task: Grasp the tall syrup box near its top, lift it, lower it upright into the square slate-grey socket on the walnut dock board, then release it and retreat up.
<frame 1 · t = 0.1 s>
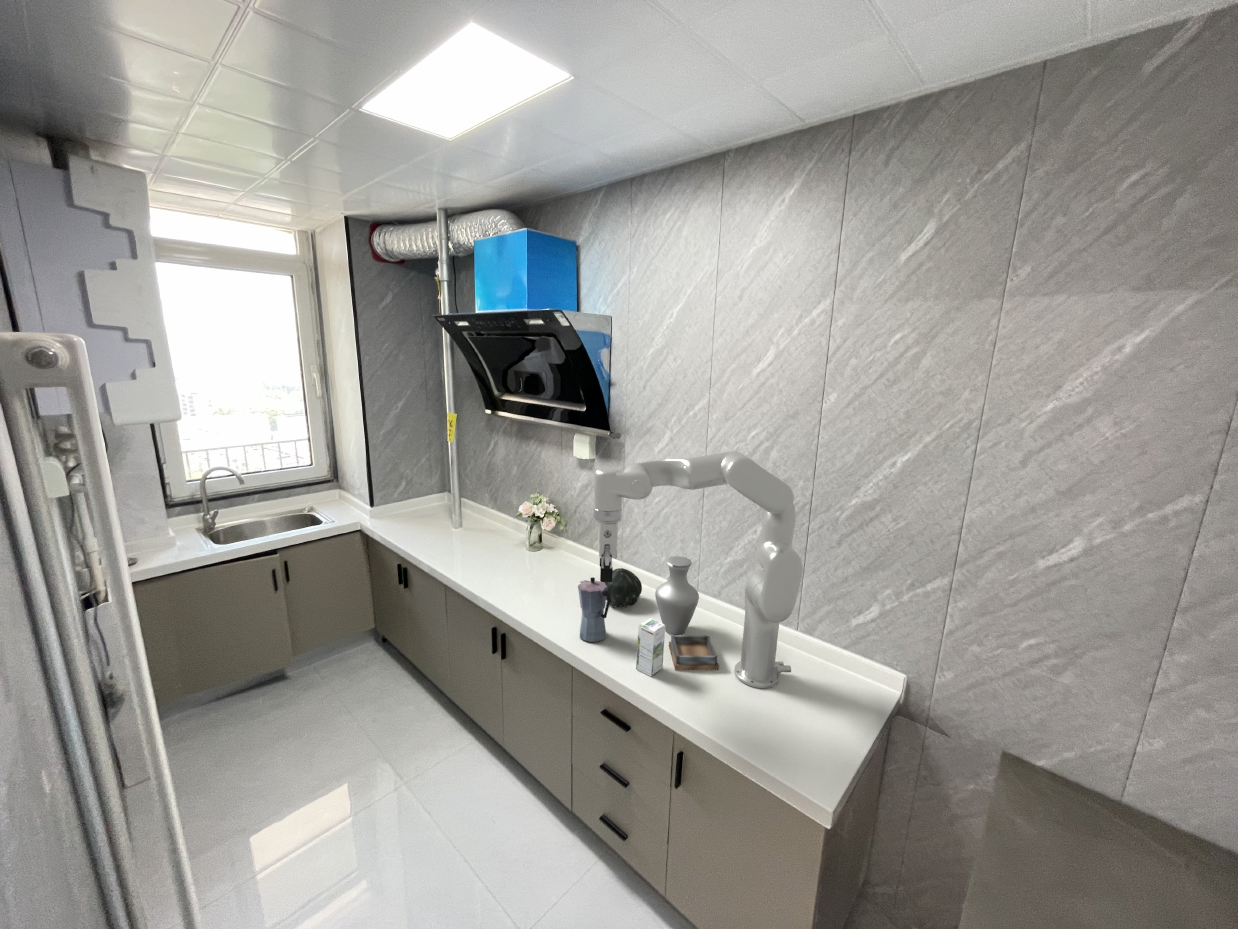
hand: (605, 573, 140), 31 cm above the table, fingers open, 9 cm apart
syrup box: (649, 669, 150), on the table
squash: (621, 603, 191), on the table
moka pot: (594, 636, 167), on the table
vase: (674, 631, 173), on the table
dock: (692, 657, 157), on the table
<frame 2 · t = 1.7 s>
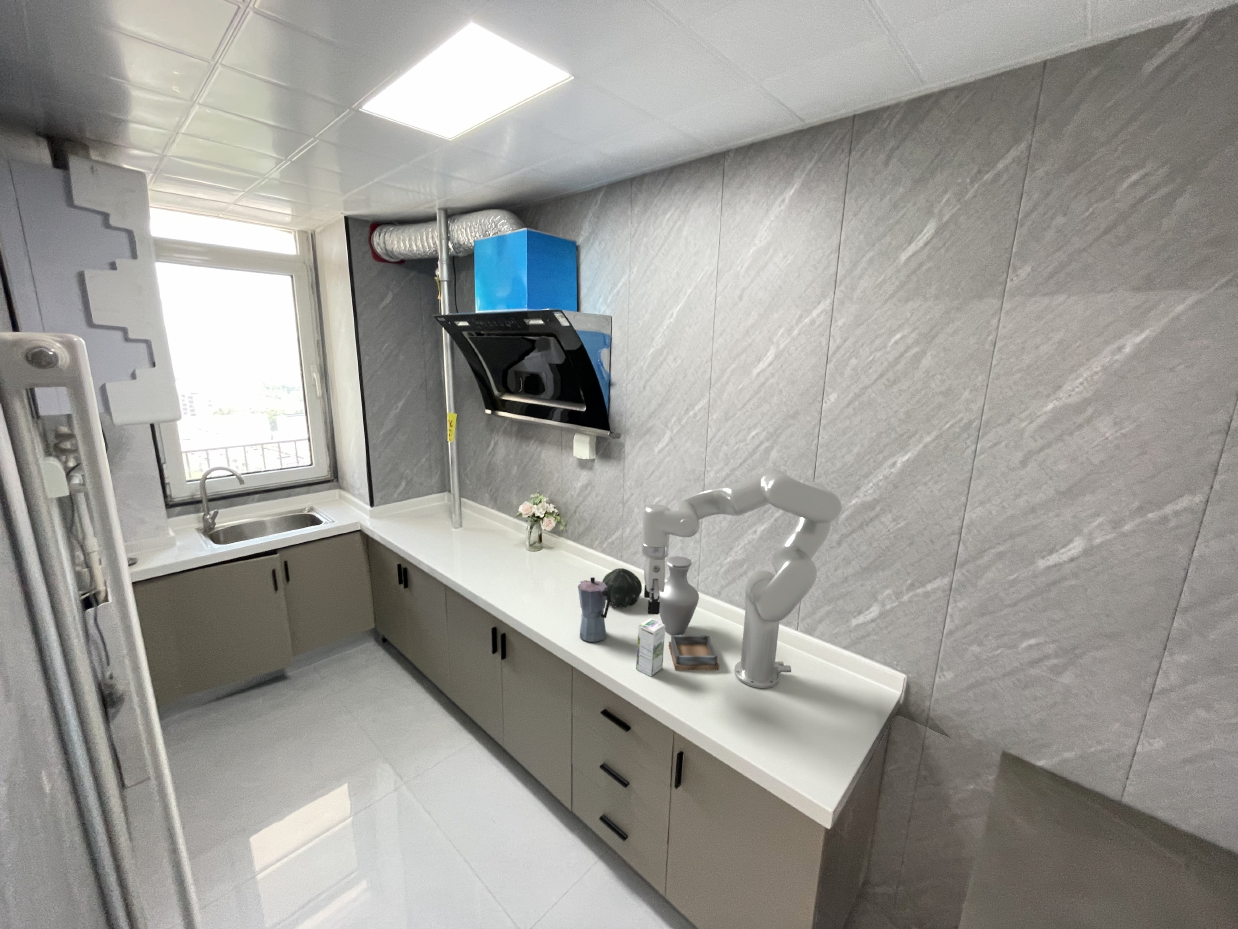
hand: (651, 605, 146), 20 cm above the table, fingers open, 9 cm apart
nothing on the table moved.
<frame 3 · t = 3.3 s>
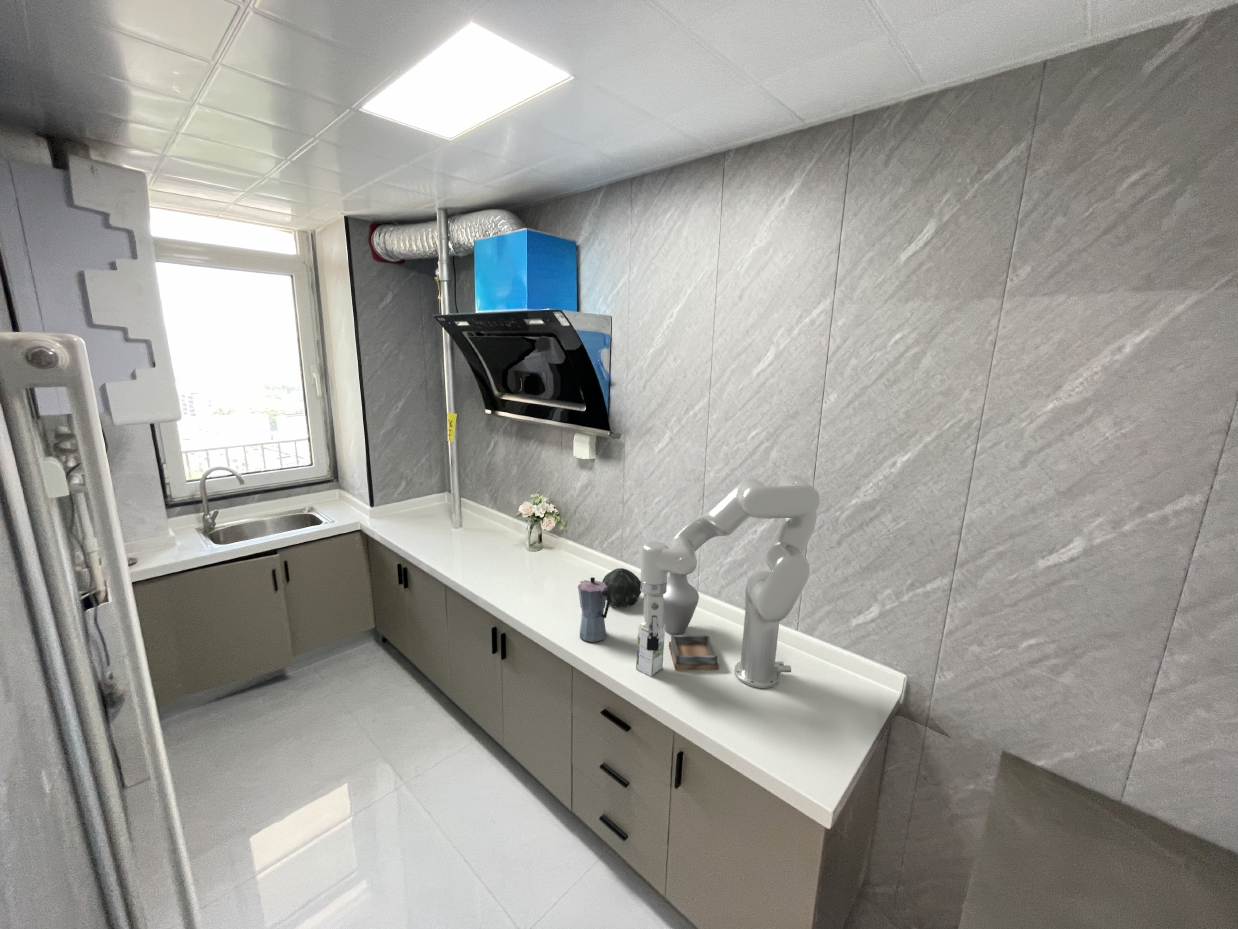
hand: (650, 641, 149), 9 cm above the table, fingers closed on syrup box, 7 cm apart
syrup box: (649, 669, 150), on the table, touching gripper
everything else where it was.
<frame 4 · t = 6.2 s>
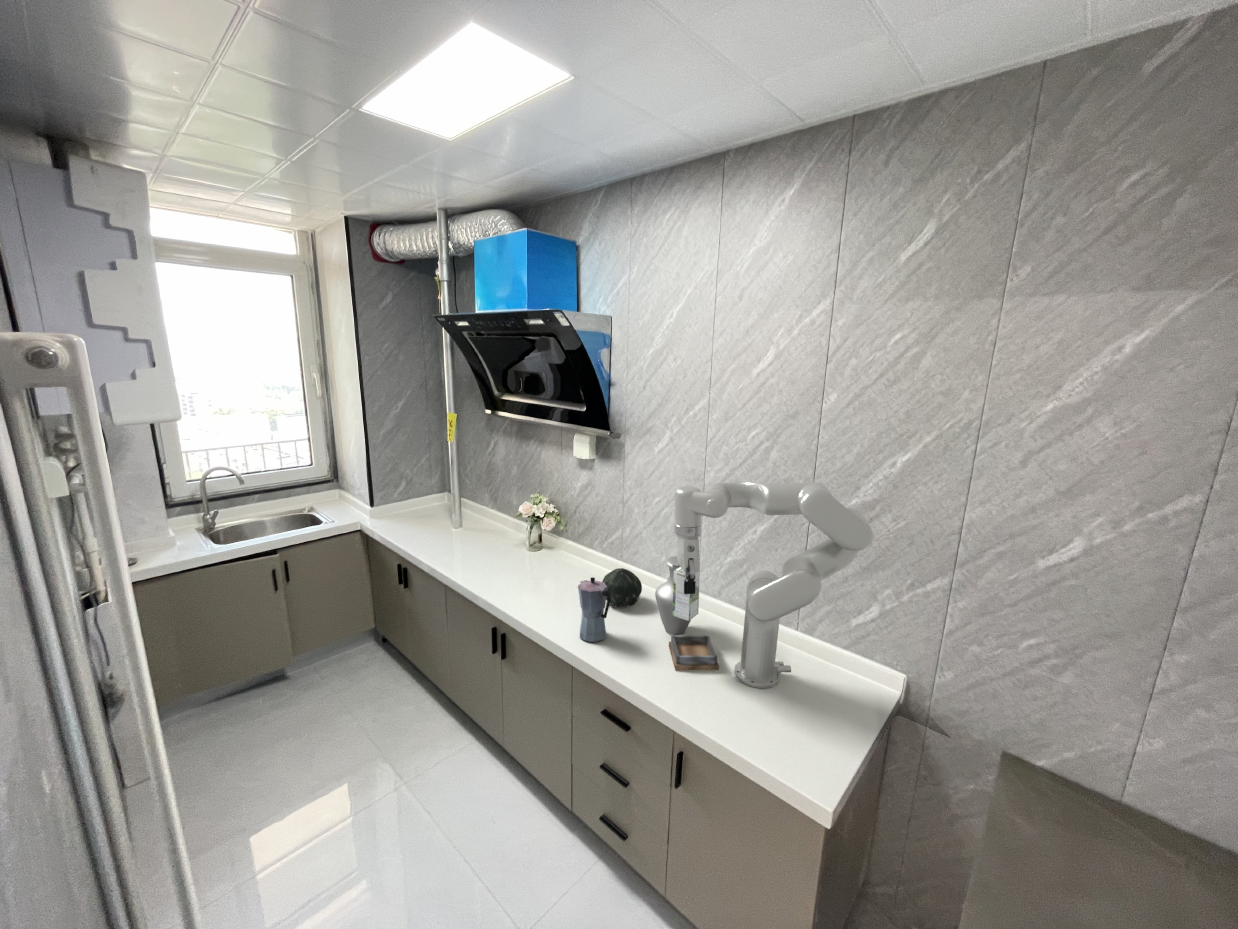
hand: (686, 586, 150), 24 cm above the table, fingers closed on syrup box, 7 cm apart
syrup box: (685, 615, 152), point 15 cm above the table, touching gripper
everything else where it was.
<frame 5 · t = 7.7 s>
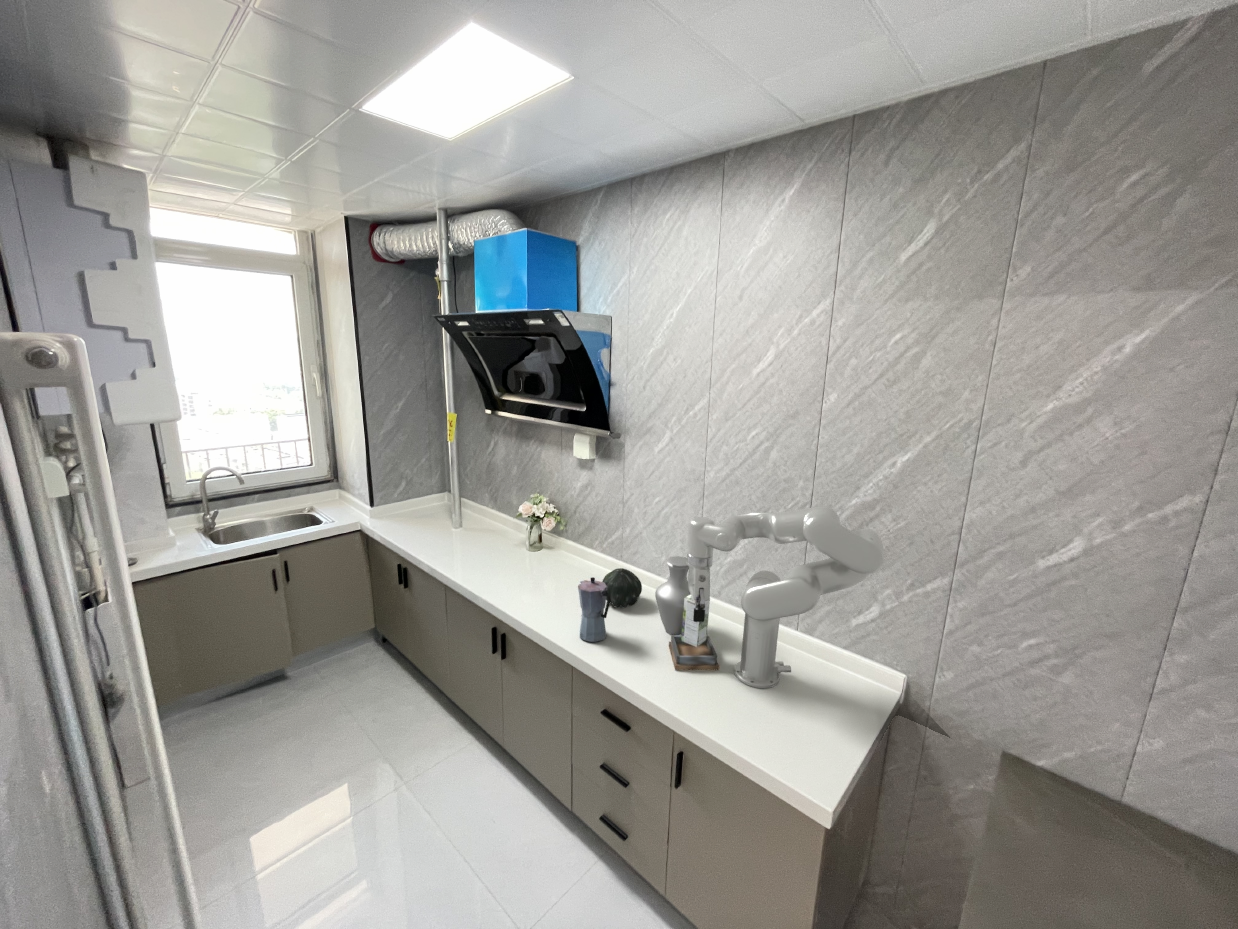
hand: (695, 614, 154), 15 cm above the table, fingers closed on syrup box, 7 cm apart
syrup box: (694, 641, 156), point 5 cm above the table, touching gripper
everything else where it was.
when the fingers open (11 cm above the table, at t = 9.0 s): syrup box stays where it is, resting on dock.
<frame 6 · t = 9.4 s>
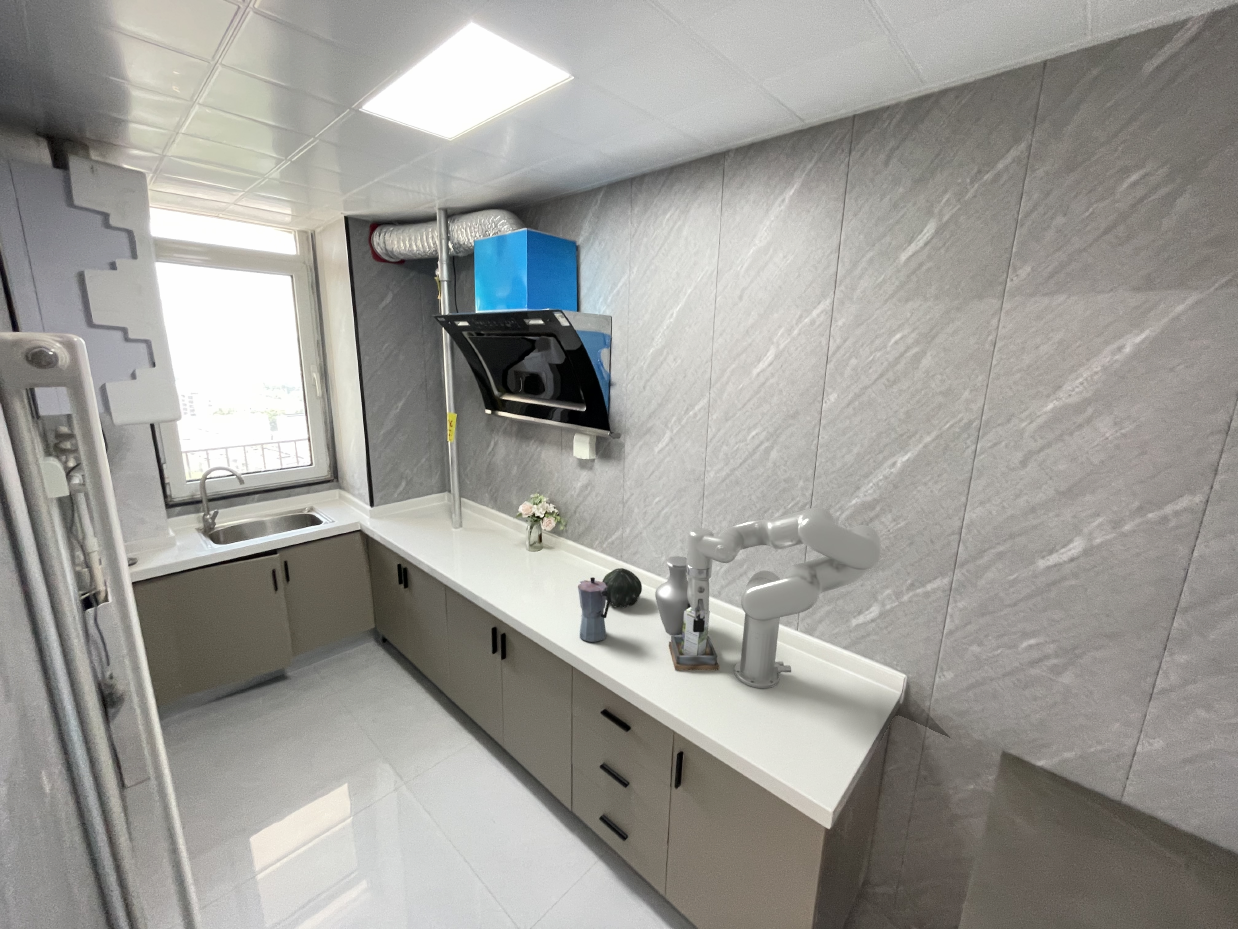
hand: (695, 623, 155), 11 cm above the table, fingers open, 9 cm apart
syrup box: (693, 654, 157), point 1 cm above the table, touching dock
everything else where it was.
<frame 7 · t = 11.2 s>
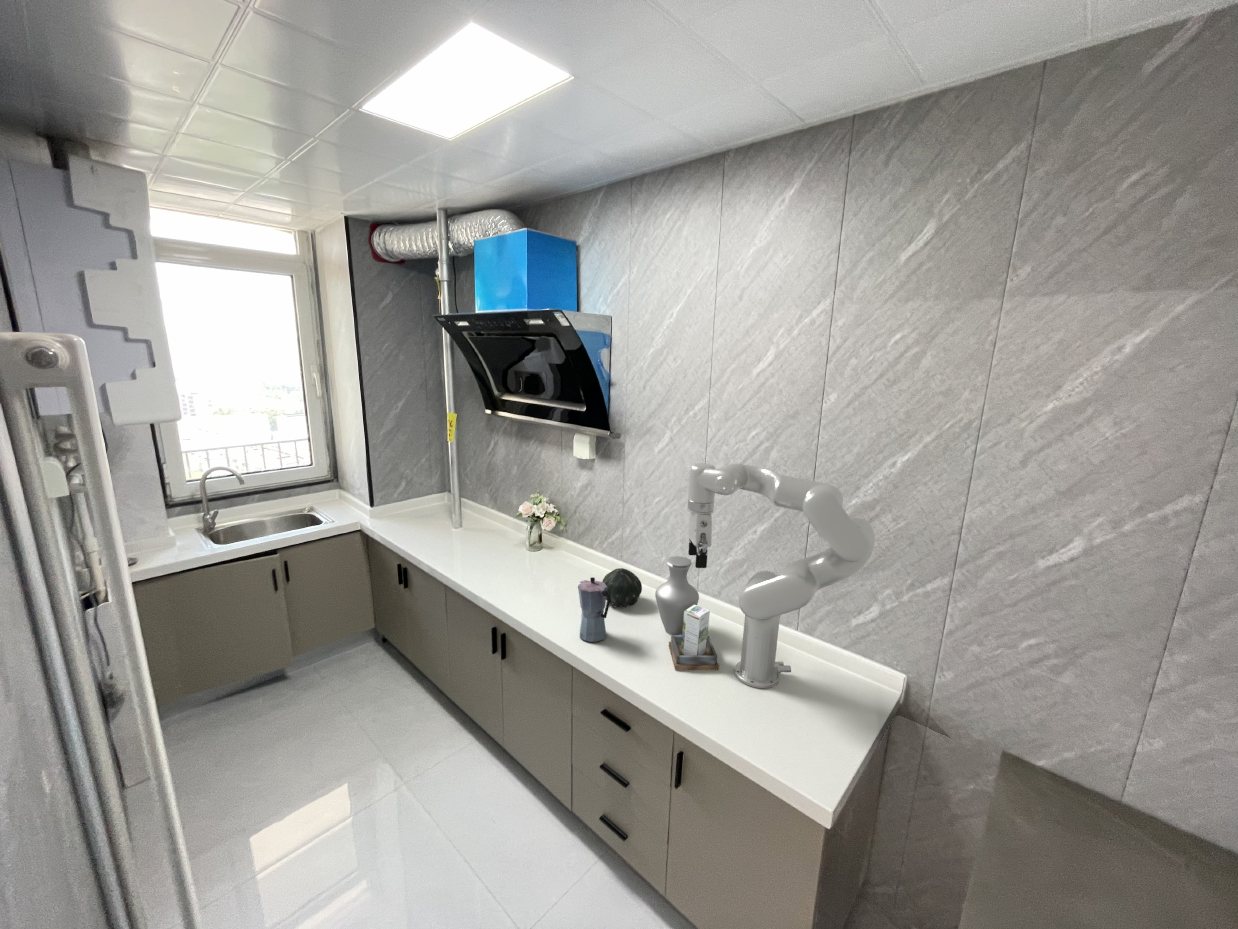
hand: (697, 561, 153), 31 cm above the table, fingers open, 9 cm apart
nothing on the table moved.
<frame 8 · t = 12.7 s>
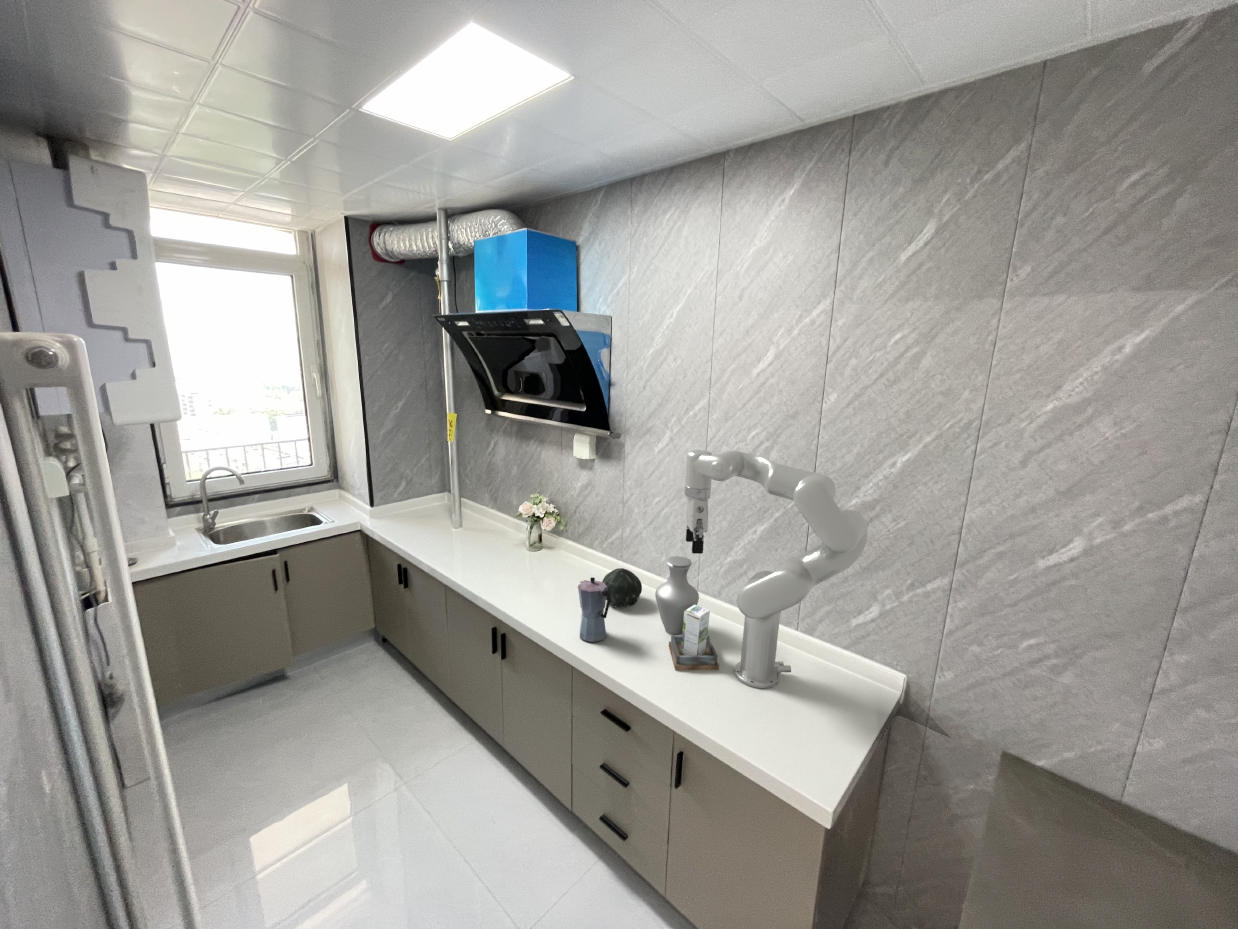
hand: (693, 547, 154), 34 cm above the table, fingers open, 9 cm apart
nothing on the table moved.
at the end: syrup box 0.3 cm off-centre on the dock, point 1.3 cm above the dock's base; syrup box tilted 0°; the gripper is holding nothing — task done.
